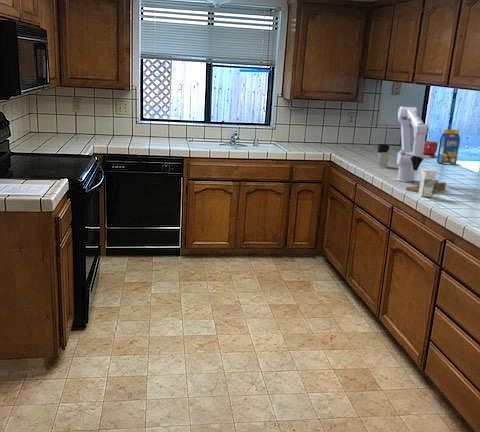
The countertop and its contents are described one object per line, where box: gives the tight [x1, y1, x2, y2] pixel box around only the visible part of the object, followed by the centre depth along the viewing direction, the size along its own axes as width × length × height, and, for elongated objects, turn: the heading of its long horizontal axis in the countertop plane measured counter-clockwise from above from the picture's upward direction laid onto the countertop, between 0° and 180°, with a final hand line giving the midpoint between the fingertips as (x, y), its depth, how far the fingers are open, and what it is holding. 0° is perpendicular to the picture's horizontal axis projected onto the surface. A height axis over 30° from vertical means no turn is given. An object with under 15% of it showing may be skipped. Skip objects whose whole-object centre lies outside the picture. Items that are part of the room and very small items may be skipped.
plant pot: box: [423, 140, 439, 158], centre depth 408 cm, size 13×13×12 cm
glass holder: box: [367, 143, 390, 169], centre depth 352 cm, size 9×14×15 cm, turn 78°
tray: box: [416, 179, 440, 188], centre depth 285 cm, size 12×5×5 cm, turn 127°
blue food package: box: [436, 128, 461, 165], centre depth 376 cm, size 6×12×25 cm, turn 101°
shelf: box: [405, 181, 447, 194], centre depth 287 cm, size 22×10×4 cm, turn 127°
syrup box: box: [417, 167, 437, 198], centre depth 270 cm, size 6×6×14 cm
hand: (415, 170), depth 292 cm, fingers closed
